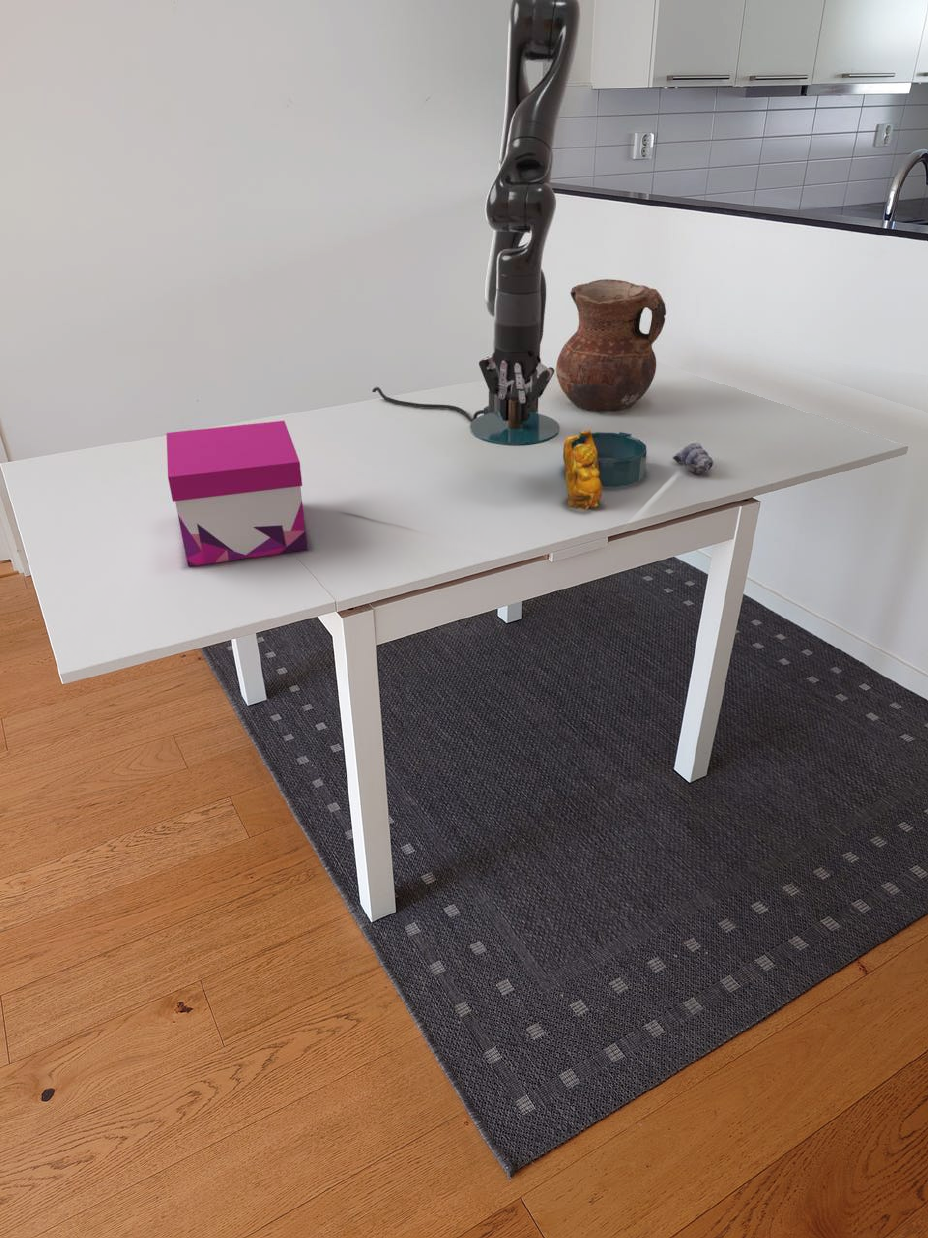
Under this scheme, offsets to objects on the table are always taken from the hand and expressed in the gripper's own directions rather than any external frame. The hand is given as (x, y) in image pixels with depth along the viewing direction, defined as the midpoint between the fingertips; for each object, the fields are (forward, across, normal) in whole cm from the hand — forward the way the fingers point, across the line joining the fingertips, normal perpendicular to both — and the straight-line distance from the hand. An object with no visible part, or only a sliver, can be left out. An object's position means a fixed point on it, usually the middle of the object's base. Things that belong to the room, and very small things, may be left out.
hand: (514, 420), depth 153 cm
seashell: (+13, -25, -25) cm, 38 cm away
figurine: (+13, -14, 0) cm, 19 cm away
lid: (+1, 0, 0) cm, 1 cm away
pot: (+13, -11, -15) cm, 23 cm away
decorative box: (+13, +30, +37) cm, 50 cm away
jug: (+14, +5, -53) cm, 55 cm away
